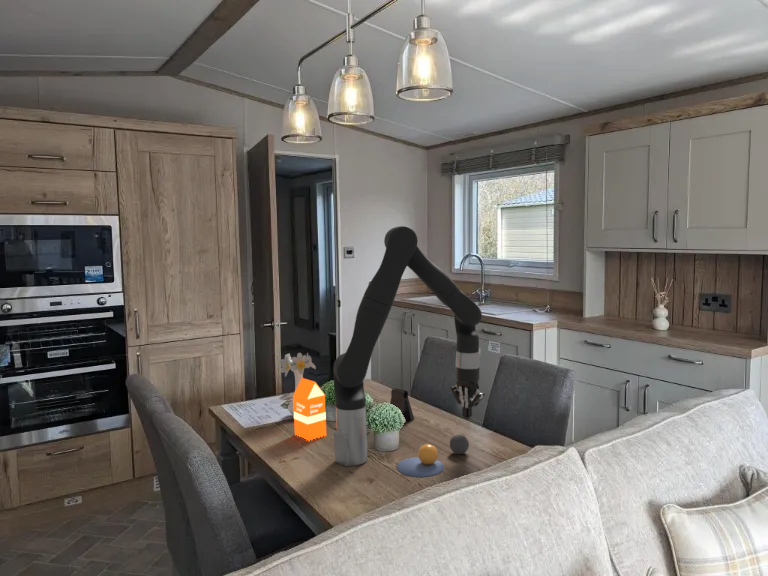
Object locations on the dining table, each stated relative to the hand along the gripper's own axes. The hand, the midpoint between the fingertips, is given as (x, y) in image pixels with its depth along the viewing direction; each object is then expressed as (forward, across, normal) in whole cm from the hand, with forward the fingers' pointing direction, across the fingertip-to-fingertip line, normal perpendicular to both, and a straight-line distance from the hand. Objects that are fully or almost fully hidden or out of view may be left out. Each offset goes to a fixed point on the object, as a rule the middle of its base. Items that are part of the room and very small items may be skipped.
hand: (467, 418), depth 178 cm
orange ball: (+7, 0, -17) cm, 19 cm away
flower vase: (+11, -68, -23) cm, 72 cm away
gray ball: (+7, +1, -4) cm, 9 cm away
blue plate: (+10, 0, -20) cm, 23 cm away
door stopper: (+11, -36, +2) cm, 37 cm away
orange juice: (+11, -46, -31) cm, 56 cm away
